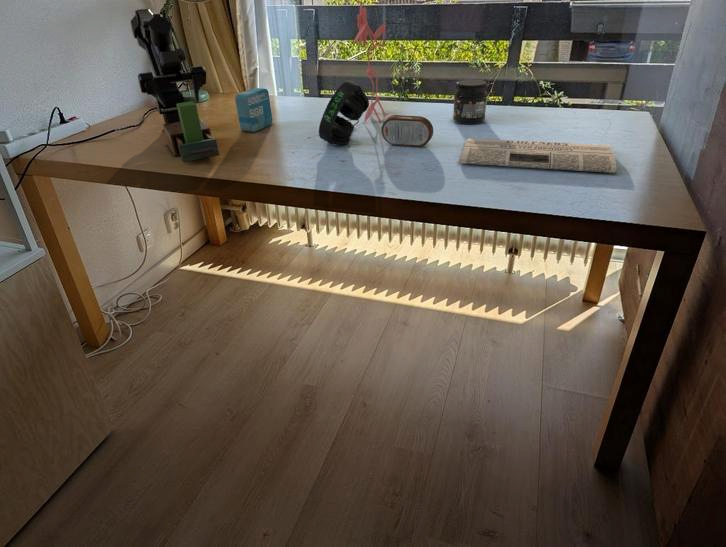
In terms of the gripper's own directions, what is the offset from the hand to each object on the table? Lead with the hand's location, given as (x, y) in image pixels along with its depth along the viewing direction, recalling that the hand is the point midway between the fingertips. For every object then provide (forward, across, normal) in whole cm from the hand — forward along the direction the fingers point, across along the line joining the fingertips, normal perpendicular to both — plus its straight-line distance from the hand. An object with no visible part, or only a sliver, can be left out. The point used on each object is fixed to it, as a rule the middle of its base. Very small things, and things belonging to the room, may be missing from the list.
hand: (182, 104), depth 142 cm
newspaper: (+55, +76, -36) cm, 100 cm away
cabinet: (+7, 0, +12) cm, 14 cm away
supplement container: (+28, +85, -8) cm, 90 cm away
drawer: (+15, 0, +3) cm, 15 cm away
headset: (+23, +40, -4) cm, 47 cm away
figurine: (+10, +59, +10) cm, 61 cm away
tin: (+34, +55, -15) cm, 66 cm away
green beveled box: (+13, 0, +3) cm, 14 cm away
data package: (+2, +24, +17) cm, 30 cm away
